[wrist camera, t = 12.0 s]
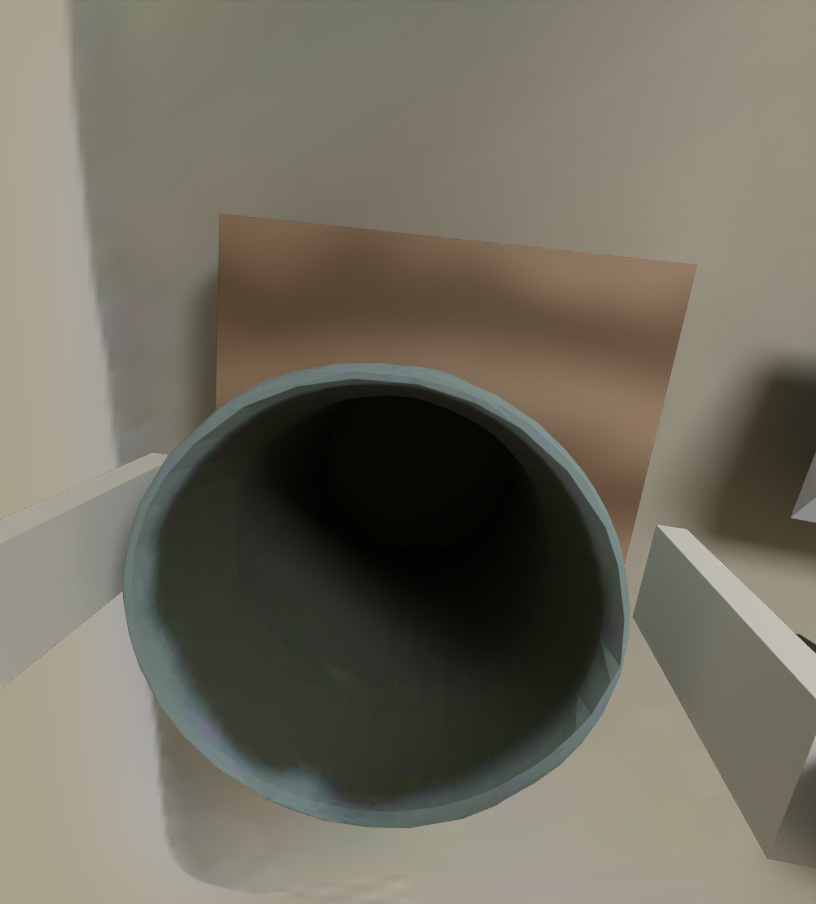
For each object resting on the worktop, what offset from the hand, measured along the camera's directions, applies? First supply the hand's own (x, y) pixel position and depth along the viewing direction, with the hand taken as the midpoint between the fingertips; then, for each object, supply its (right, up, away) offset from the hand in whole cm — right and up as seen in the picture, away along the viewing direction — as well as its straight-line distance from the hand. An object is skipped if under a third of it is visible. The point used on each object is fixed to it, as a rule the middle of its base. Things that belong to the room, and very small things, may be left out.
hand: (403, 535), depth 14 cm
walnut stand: (+1, +3, +11) cm, 12 cm away
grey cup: (0, +2, +8) cm, 8 cm away
